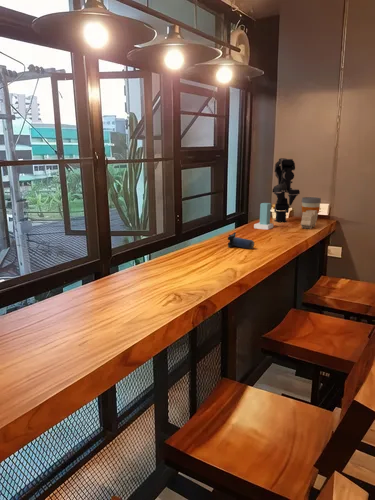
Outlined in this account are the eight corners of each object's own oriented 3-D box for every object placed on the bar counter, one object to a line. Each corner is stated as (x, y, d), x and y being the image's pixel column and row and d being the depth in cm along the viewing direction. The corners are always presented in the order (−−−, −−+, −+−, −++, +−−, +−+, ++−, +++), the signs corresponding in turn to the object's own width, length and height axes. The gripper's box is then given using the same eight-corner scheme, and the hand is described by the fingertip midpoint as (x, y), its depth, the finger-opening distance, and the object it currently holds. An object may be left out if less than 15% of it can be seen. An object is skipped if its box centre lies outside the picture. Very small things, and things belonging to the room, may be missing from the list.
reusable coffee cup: (317, 218, 277) (319, 197, 273) (320, 221, 265) (322, 199, 261) (299, 218, 279) (300, 197, 275) (301, 221, 267) (302, 198, 263)
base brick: (259, 226, 249) (259, 222, 248) (273, 228, 244) (273, 223, 244) (253, 229, 242) (254, 224, 241) (267, 230, 237) (268, 225, 236)
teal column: (262, 222, 245) (264, 202, 242) (269, 223, 242) (270, 203, 239) (259, 223, 242) (260, 203, 239) (266, 224, 239) (267, 204, 236)
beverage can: (226, 250, 192) (250, 254, 186) (226, 235, 188) (250, 239, 183) (234, 243, 199) (256, 247, 193) (234, 229, 196) (257, 232, 190)
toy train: (300, 229, 238) (301, 212, 236) (307, 225, 253) (308, 209, 250) (309, 230, 236) (310, 213, 233) (316, 225, 250) (317, 210, 248)
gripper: (266, 179, 249) (265, 204, 253) (287, 180, 233) (285, 207, 237) (279, 178, 254) (278, 203, 258) (301, 180, 238) (299, 206, 242)
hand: (285, 204), depth 249 cm, fingers open, 9 cm apart
